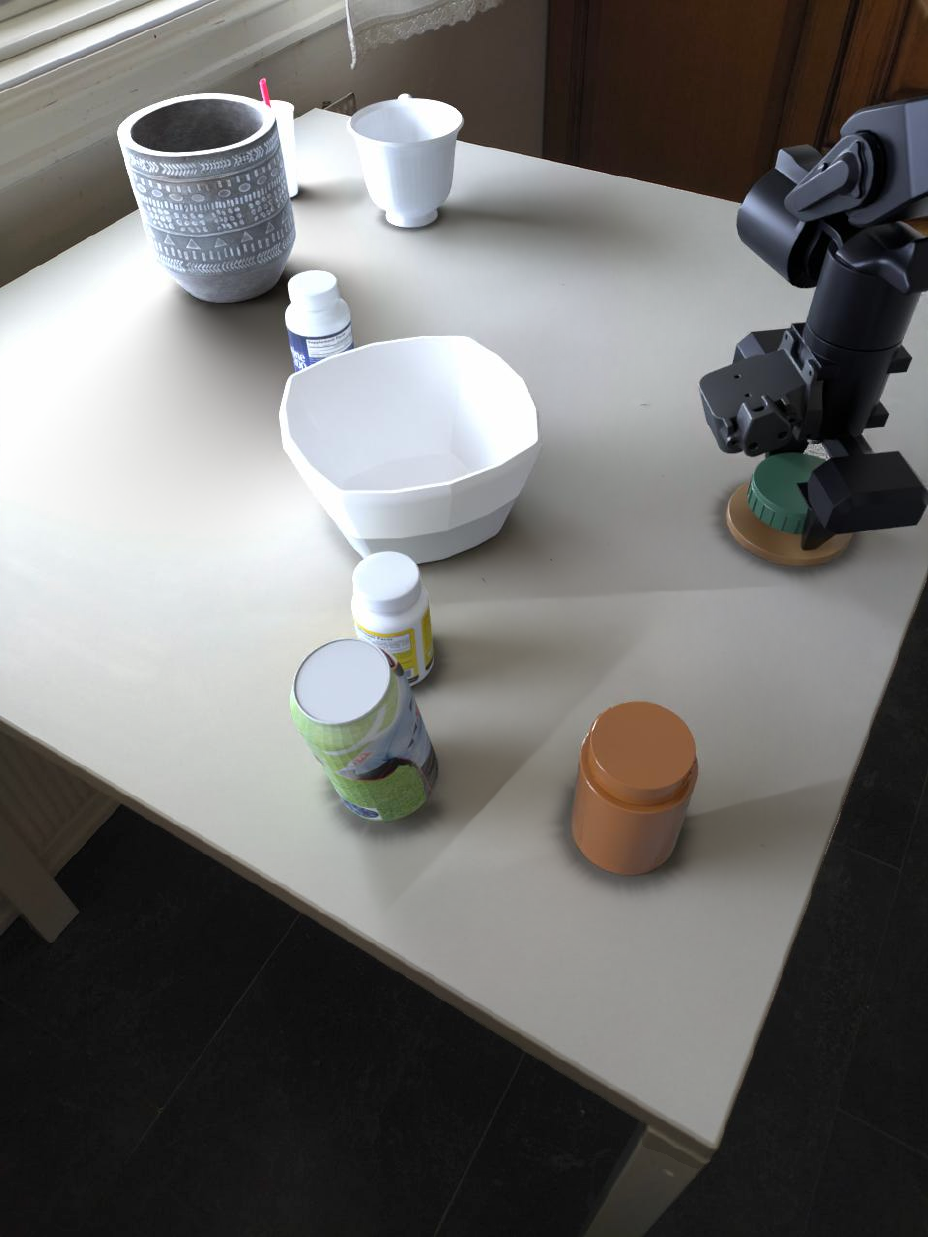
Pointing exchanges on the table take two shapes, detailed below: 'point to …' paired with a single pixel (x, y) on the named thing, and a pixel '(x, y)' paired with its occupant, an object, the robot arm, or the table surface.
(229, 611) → the table surface
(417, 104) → the teacup
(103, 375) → the table surface
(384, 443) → the bowl
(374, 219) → the table surface
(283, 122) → the cup
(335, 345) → the pill bottle
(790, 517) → the jar lid
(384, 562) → the supplement bottle
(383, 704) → the beverage can
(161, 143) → the planter
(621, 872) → the jam jar
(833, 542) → the coaster
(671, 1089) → the table surface
